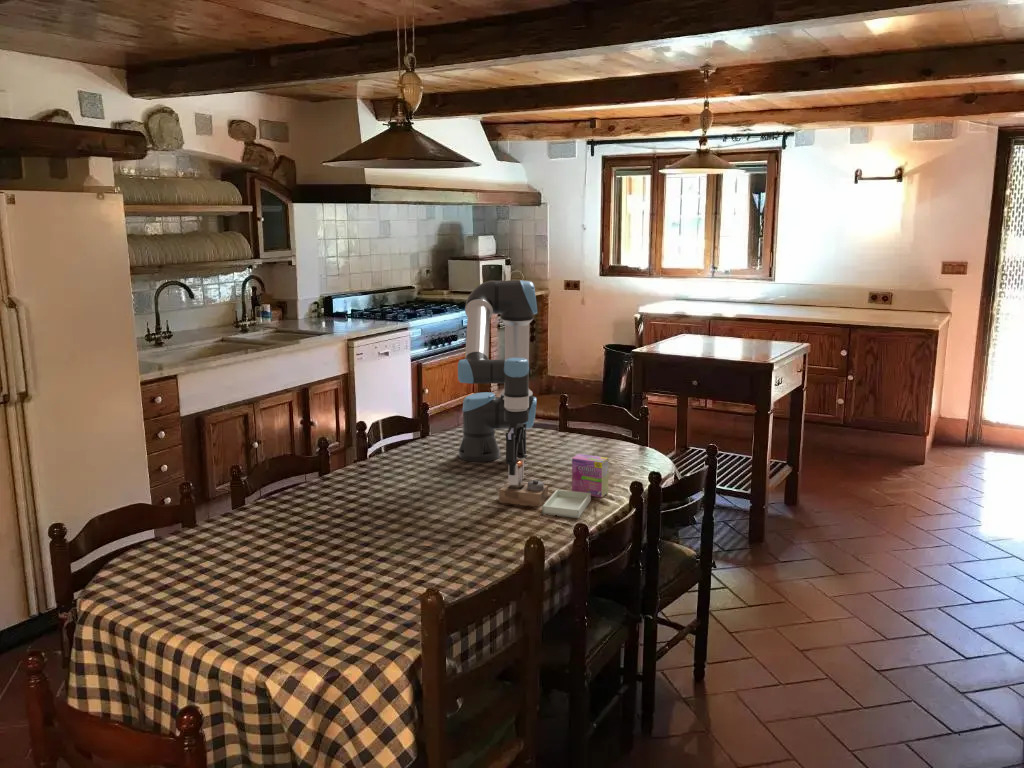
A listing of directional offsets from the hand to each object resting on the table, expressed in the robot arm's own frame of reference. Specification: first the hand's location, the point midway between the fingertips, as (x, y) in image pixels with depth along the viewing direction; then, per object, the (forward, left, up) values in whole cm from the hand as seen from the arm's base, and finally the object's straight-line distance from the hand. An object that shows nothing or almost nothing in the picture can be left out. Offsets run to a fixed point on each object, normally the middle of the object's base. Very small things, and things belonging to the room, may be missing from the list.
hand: (516, 481), depth 255 cm
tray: (+2, +17, -6) cm, 18 cm away
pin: (0, 0, -6) cm, 6 cm away
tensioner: (0, +2, -6) cm, 6 cm away
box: (-13, +20, -6) cm, 25 cm away
